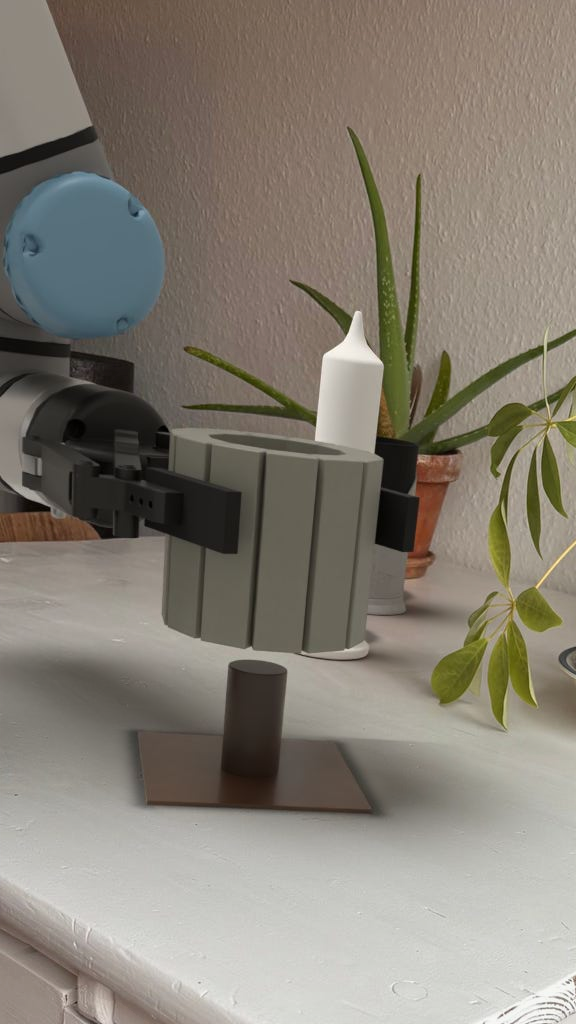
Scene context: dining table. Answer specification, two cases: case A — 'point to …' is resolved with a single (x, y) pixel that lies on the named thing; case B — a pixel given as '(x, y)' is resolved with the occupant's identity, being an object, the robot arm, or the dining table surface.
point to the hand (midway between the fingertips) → (327, 524)
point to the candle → (349, 413)
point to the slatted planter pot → (277, 543)
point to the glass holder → (386, 561)
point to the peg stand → (249, 756)
